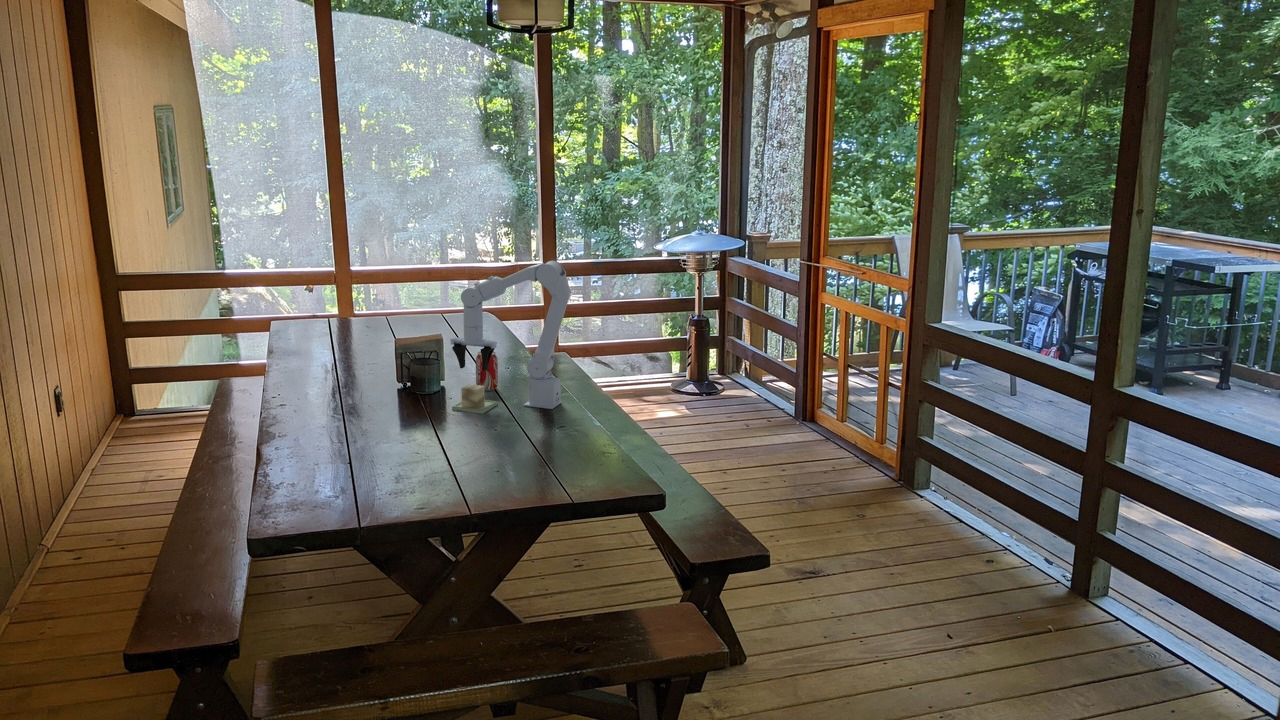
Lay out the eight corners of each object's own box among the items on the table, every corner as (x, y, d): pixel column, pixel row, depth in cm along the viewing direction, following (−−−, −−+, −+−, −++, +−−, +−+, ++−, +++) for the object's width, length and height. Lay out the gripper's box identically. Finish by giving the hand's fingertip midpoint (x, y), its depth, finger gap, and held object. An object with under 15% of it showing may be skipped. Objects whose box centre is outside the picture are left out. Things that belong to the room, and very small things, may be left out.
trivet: (497, 404, 284) (497, 401, 284) (482, 413, 275) (482, 410, 274) (467, 401, 287) (467, 397, 287) (452, 409, 277) (452, 406, 277)
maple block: (484, 405, 280) (484, 386, 279) (476, 409, 276) (476, 390, 274) (469, 403, 282) (469, 384, 280) (461, 407, 277) (461, 388, 276)
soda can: (493, 392, 298) (493, 356, 295) (472, 390, 299) (472, 354, 296) (501, 387, 304) (500, 351, 301) (480, 385, 306) (480, 349, 303)
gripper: (500, 325, 285) (500, 368, 288) (457, 321, 289) (458, 363, 292) (490, 329, 278) (491, 373, 281) (447, 325, 282) (447, 368, 285)
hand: (473, 368), depth 286 cm, fingers open, 7 cm apart
